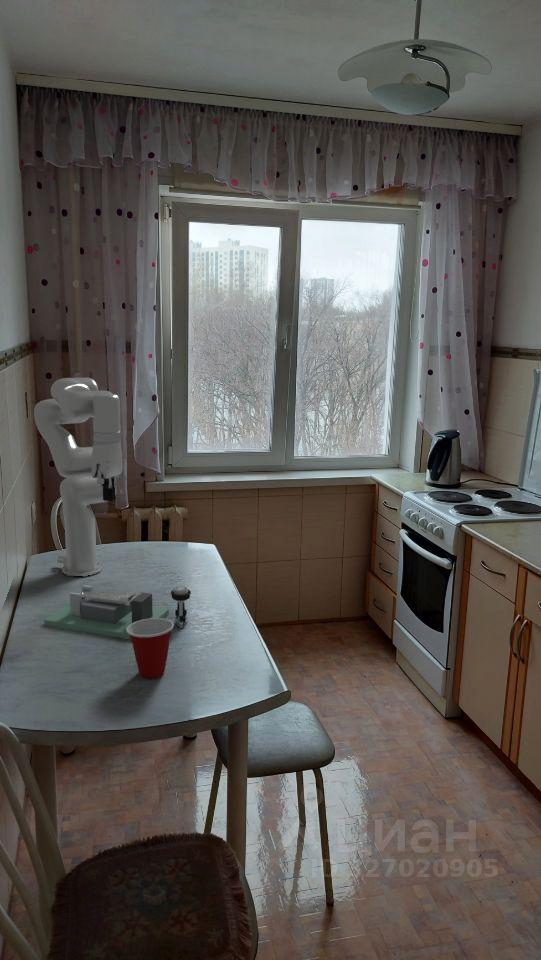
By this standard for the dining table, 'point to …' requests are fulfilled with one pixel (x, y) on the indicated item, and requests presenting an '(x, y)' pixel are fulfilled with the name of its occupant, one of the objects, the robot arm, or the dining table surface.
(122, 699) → the dining table surface
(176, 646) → the dining table surface
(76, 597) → the board
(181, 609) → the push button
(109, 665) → the dining table surface
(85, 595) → the retention strap
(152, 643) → the plastic cup
